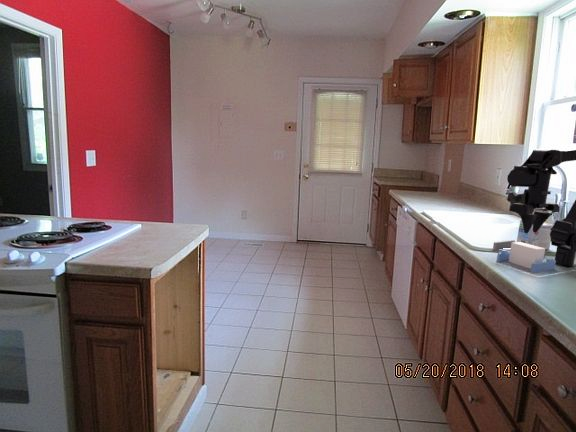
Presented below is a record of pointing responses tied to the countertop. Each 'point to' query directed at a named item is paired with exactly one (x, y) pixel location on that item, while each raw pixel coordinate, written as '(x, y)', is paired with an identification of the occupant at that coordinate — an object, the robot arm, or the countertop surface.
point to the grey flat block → (504, 245)
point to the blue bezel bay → (535, 267)
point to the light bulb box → (536, 236)
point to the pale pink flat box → (525, 254)
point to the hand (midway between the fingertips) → (530, 232)
